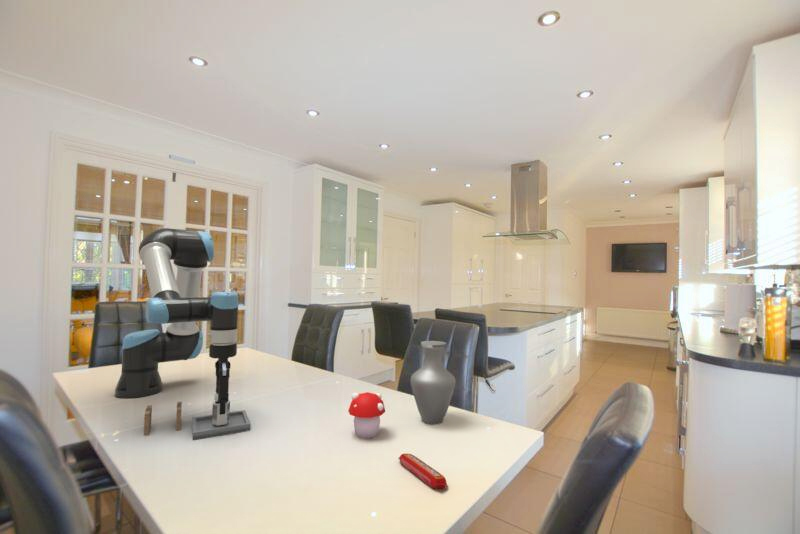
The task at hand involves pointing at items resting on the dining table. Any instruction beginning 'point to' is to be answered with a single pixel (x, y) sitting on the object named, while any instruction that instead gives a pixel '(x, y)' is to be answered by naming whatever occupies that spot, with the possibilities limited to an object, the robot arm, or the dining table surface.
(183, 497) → the dining table surface
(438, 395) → the vase
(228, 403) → the pill bottle
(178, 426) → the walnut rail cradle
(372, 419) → the mushroom
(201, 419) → the slate tray
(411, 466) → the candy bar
